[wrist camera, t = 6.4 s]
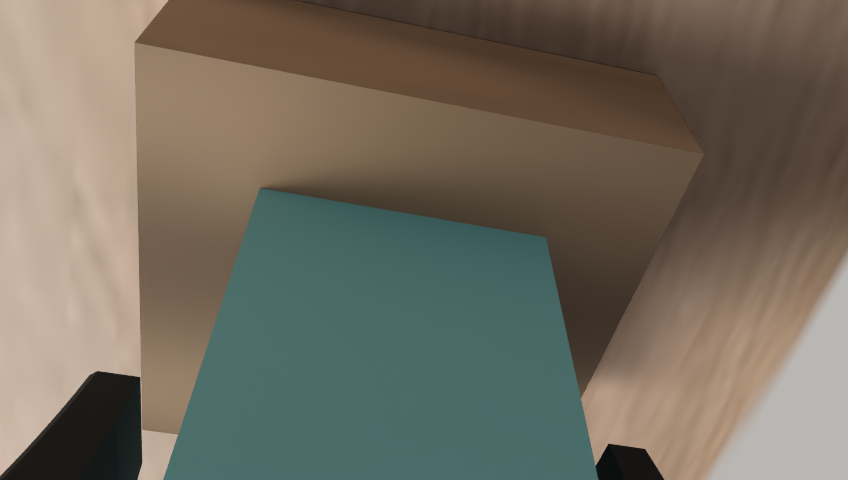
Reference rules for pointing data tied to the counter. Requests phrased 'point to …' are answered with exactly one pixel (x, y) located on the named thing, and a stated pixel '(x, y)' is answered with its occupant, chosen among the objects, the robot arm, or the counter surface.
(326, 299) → the teal block
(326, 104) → the walnut plinth
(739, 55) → the counter surface
